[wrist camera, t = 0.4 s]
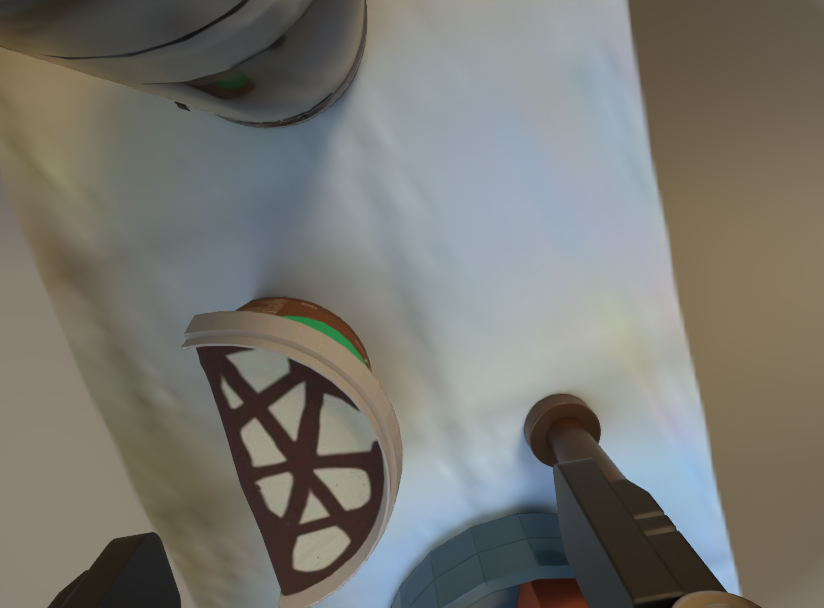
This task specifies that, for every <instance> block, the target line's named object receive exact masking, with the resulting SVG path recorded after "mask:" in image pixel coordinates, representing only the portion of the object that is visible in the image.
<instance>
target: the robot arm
mask: <svg viewBox="0 0 824 608" xmlns="http://www.w3.org/2000/svg"><path fill="white" fill-rule="evenodd" d="M366 34H367V5H366V0H0V47H3V48H5V49H8V50H11V51H15V52H18V53H21V54H24V55H27V56H31V57H34V58H37V59H40V60H43V61H47V62H50V63H53V64H56V65H59V66H63V67H66V68H69V69H72V70H75V71H79V72H82V73H85V74H88V75H91V76H95V77H99V78H102V79H105V80H109V81H112V82H115V83H118V84H121V85H125V86H128V87H131V88H134V89H137V90H140V91H144V92H147V93H150V94H153V95H156V96H160V97H163V98H166V99H169V100H172V101H174V102H175V103H176V104H177V106H178V107H179V108H181V109H184V110H188V111H190V110H189V109H188V108H187V106H186V105H188V106H191V107H195V108H198V109H201V110H204V111H207V112H210V113H213V114H215V115H217V116H219V117H221V118H223V119H226V120H228V121H231V122H234V123H238V124H241V125H245V126H250V127H255V128H282V127H288V126H292V125H296V124H299V123H302V122H305V121H307V120H309V119H311V118H313V117H315V116H317V115H318V114H320V113H322V112H323V111H324V110H326V109H327V108H328V107H330V106H331V105H332V104H333V103H334V102H335V101H336V100H337V99H338V98H339V97H340V96H341V95H342V94H343V92H344V91H345V90H346V88H347V87H348V86H349V84H350V82H351V81H352V79H353V77H354V75H355V73H356V71H357V69H358V67H359V64H360V61H361V58H362V55H363V51H364V47H365V42H366ZM553 473H554V482H555V491H556V499H557V507H558V516H559V524H560V532H561V537H562V542H563V546H564V550H565V553H566V557H567V560H568V562H569V565H570V567H571V569H572V572H573V574H574V576H575V578H576V581H577V583H578V585H579V587H580V590H581V592H582V594H583V596H584V598H585V601H586V603H587V605H588V607H589V608H762V607H760V606H758V605H757V604H755V603H753V602H751V601H749V600H747V599H745V598H743V597H740V596H737V595H734V594H730V593H728V592H727V591H726V590H725V589H724V587H723V586H722V585H721V583H720V582H719V581H718V580H717V578H716V577H715V576H714V575H713V573H712V572H711V571H710V570H709V568H708V567H707V566H706V564H705V563H704V562H703V561H702V559H701V558H700V557H699V556H698V554H697V553H696V552H695V551H694V549H693V548H692V547H691V545H690V544H689V543H688V542H687V540H686V539H685V538H684V537H683V535H682V534H681V533H680V532H679V531H677V530H676V526H675V525H674V524H673V523H672V521H671V520H670V519H669V518H668V516H667V515H664V512H663V510H662V509H661V507H660V506H659V505H658V504H657V502H656V501H655V500H654V499H653V497H652V496H651V495H650V494H649V492H647V491H645V490H644V489H642V488H640V487H639V486H637V485H635V484H634V483H632V482H630V481H629V480H627V479H620V480H615V481H608V479H607V478H606V476H605V475H604V474H603V472H602V471H601V469H600V468H599V466H598V465H597V463H596V462H595V461H594V459H593V458H591V457H590V458H585V459H579V460H573V461H567V462H562V463H556V464H554V467H553ZM48 608H181V599H180V594H179V591H178V588H177V585H176V582H175V579H174V576H173V573H172V570H171V567H170V564H169V561H168V558H167V555H166V552H165V549H164V546H163V543H162V541H161V539H160V537H159V536H158V535H157V534H156V533H154V532H150V533H145V534H139V535H133V536H127V537H121V538H116V539H113V540H112V541H111V542H110V543H109V544H108V545H107V546H106V548H105V549H104V550H103V552H102V553H101V554H100V556H99V557H98V558H97V560H96V561H95V562H94V564H93V565H92V566H91V567H90V569H89V570H86V571H85V572H83V573H82V574H81V575H80V576H78V577H77V578H76V579H75V580H74V581H73V582H71V583H70V584H69V585H68V586H67V587H65V588H64V589H63V590H62V591H61V592H59V594H58V595H57V596H56V597H55V599H54V600H53V601H52V603H51V604H50V605H49V606H48Z"/></svg>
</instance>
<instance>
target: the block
mask: <svg viewBox="0 0 824 608" xmlns="http://www.w3.org/2000/svg"><path fill="white" fill-rule="evenodd" d="M517 608H589V607H588V605H587V603H586V601H585V598H584V596H583V594H582V592H581V590H580V587H579V585H578V583H577V581H576V578H562V579H537V580H534V581H530V582H527V583H524V584H520V590H519V597H518V604H517Z"/></svg>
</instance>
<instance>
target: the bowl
mask: <svg viewBox="0 0 824 608" xmlns="http://www.w3.org/2000/svg"><path fill="white" fill-rule="evenodd" d="M562 578H575V576H574V574H573V572H572V569H571V567H570V565H569V562H568V560H567V557H566V553H565V550H564V546H563V542H562V537H561V532H560V524H559V516H558V513H551V514H515V515H511V516H508V517H504V518H501V519H498V520H494V521H491V522H487V523H484V524H480V525H477V526H473V527H471V528H469V529H467V530H466V531H464V532H462V533H461V534H459V535H457V536H456V537H454V538H453V539H451V540H449V541H448V542H446V543H444V544H443V545H441V546H440V547H438V548H436V549H435V550H433V551H432V552H431V553H429V554H428V556H427V557H426V558H425V559H424V560H423V561H422V562H421V563H420V564H419V566H418V567H417V568H416V569H415V570H414V571H413V572H412V573H411V575H410V576H409V577H408V578H407V579H406V580H405V581H404V582H403V583H402V585H401V586H400V588H399V590H398V593H397V595H396V597H395V600H394V602H393V604H392V607H391V608H517V604H518V597H519V590H520V584H524V583H527V582H530V581H534V580H537V579H562Z"/></svg>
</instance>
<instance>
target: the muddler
mask: <svg viewBox="0 0 824 608" xmlns="http://www.w3.org/2000/svg"><path fill="white" fill-rule="evenodd" d="M524 434H525V438H526V441H527V443H528V445H529V447H530V448H531V450H532V452H533V454H534V455H535V456H536V458H537V459H538V460H540V461H541V462H542V463H544V464H546V465H548V466H551V467H554V464H556V463H562V462H567V461H573V460H579V459H585V458H590V457H591V458H593V459H594V461H595V462H596V463H597V465H598V466H599V468H600V469H601V471H602V472H603V474H604V475H605V476H606V478H607V479H608V481H615V480H620V479H626V478H625V476H624V475H623V474H622V473H621V472H620V470H619V469H618V468H617V467H616V465H615V464H614V463H613V462H612V460H611V459H610V458H609V457H608V456H607V454H606V453H605V452H604V451H603V449H602V448H601V447H600V446H599V444H598V443H599V440H600V435H601V428H600V423H599V420H598V418H597V416H596V415H595V413H594V412H593V411H592V410H591V409H590V408H589V407H588V405H587V404H586V403H585V402H584V401H582V400H581V399H579V398H578V397H575V396H573V395H568V394H556V395H551V396H549V397H546V398H544V399H542V400H541V401H539V402H538V403H537V404H536V405H535V406H534V407H533V408H532V409H531V410H530V412H529V414H528V416H527V418H526V421H525V426H524Z"/></svg>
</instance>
